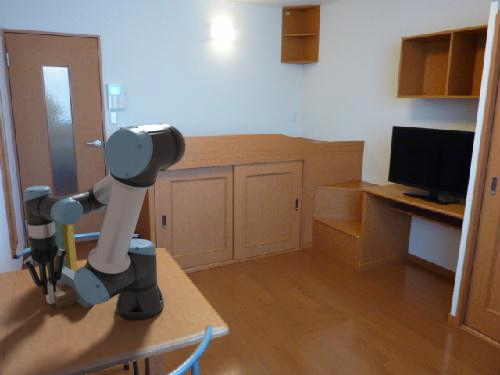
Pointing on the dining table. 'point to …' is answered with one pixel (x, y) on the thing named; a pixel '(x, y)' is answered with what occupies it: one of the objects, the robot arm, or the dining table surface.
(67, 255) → the yellow rounded trough
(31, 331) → the dining table surface
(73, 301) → the brown rectangular block
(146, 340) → the dining table surface
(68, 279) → the slate board
